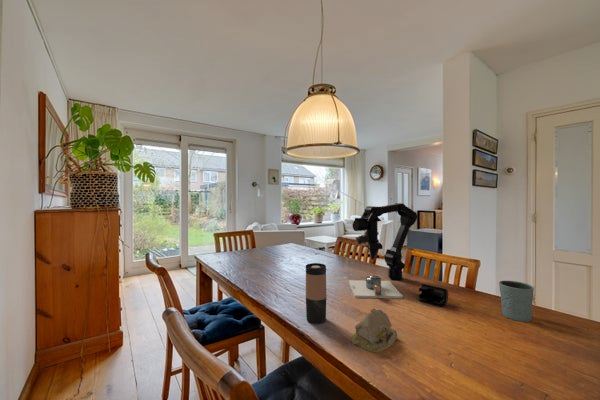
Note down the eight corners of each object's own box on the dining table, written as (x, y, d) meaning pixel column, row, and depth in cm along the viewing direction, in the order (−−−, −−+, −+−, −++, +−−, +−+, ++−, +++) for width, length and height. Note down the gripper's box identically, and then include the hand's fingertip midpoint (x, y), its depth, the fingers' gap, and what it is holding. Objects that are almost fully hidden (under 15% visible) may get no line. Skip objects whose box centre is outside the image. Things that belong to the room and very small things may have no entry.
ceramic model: (372, 357, 73) (372, 322, 73) (345, 339, 83) (345, 308, 83) (403, 341, 81) (403, 310, 81) (375, 326, 90) (375, 298, 90)
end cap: (448, 303, 110) (448, 287, 110) (442, 308, 105) (442, 291, 105) (424, 296, 117) (424, 281, 117) (417, 301, 112) (417, 285, 112)
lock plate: (389, 282, 136) (389, 280, 136) (402, 298, 115) (402, 295, 115) (348, 282, 137) (348, 279, 137) (355, 297, 116) (355, 294, 116)
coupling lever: (365, 284, 130) (365, 274, 130) (379, 284, 129) (379, 274, 129) (370, 296, 114) (370, 284, 114) (386, 296, 114) (386, 285, 114)
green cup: (525, 325, 91) (525, 290, 91) (493, 313, 100) (493, 282, 100) (539, 318, 95) (539, 286, 95) (506, 308, 104) (507, 278, 104)
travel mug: (328, 316, 98) (328, 263, 98) (323, 326, 91) (323, 269, 91) (309, 313, 101) (308, 262, 100) (303, 322, 93) (302, 267, 93)
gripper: (353, 228, 147) (354, 255, 147) (359, 232, 129) (360, 263, 129) (373, 227, 147) (373, 255, 147) (382, 232, 128) (382, 263, 128)
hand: (372, 259), depth 138 cm, fingers closed
